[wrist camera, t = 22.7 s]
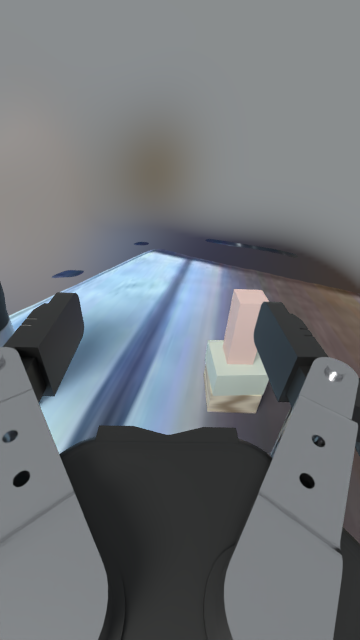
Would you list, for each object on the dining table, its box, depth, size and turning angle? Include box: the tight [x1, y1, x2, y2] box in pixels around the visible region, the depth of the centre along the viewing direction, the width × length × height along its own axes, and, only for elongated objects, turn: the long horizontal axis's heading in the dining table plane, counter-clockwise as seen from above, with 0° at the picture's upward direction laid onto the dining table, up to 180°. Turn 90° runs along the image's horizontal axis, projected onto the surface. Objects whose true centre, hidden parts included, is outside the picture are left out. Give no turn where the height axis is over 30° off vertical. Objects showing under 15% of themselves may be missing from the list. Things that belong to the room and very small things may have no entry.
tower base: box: [204, 364, 262, 413], centre depth 50 cm, size 9×9×5 cm
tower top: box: [205, 340, 269, 396], centre depth 47 cm, size 9×9×5 cm
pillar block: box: [223, 289, 269, 365], centre depth 42 cm, size 4×4×12 cm
